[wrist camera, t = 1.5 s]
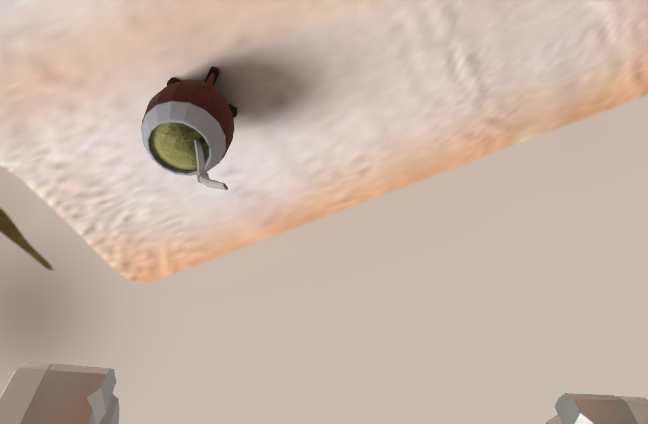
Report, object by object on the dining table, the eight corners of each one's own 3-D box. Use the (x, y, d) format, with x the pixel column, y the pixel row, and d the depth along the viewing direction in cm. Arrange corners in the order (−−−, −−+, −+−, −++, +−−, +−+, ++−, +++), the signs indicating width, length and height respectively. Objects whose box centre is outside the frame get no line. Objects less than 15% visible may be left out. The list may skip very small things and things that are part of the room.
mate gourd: (153, 109, 52) (89, 220, 41) (181, 35, 47) (116, 138, 36) (231, 144, 54) (189, 260, 43) (265, 77, 49) (229, 187, 38)
